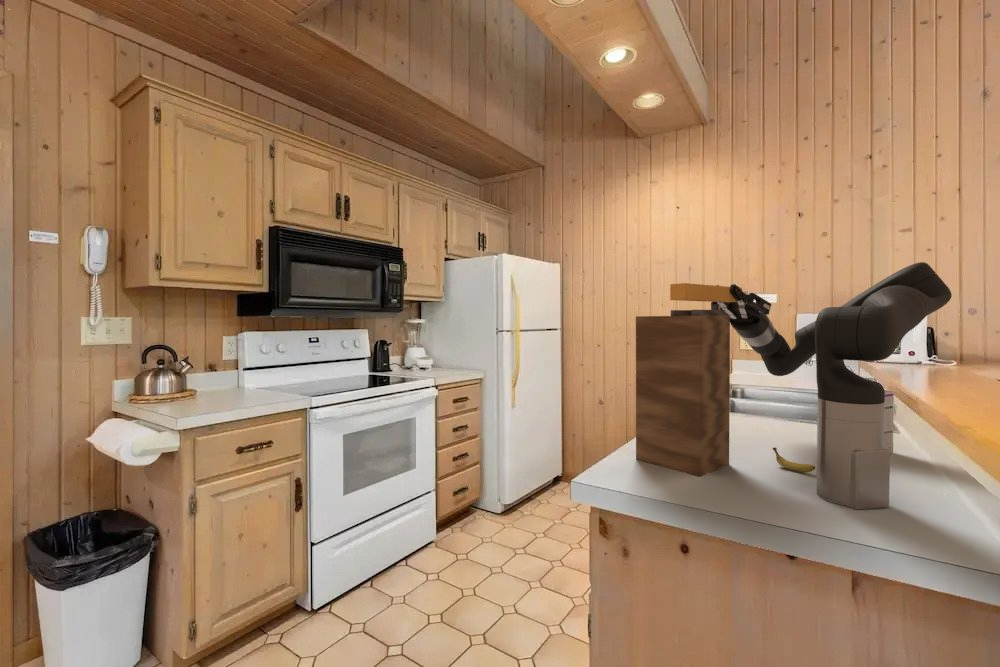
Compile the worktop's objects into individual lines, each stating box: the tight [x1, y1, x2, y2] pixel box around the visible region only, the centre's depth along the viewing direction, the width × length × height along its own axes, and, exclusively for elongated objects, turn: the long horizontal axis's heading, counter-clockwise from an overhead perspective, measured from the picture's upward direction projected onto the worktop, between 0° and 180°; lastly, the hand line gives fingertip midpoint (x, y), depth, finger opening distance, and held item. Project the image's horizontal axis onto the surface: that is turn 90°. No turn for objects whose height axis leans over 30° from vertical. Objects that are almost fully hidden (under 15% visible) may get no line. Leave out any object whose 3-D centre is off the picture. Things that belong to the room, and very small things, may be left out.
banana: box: [772, 447, 816, 473], centre depth 96 cm, size 8×2×4 cm, turn 32°
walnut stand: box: [635, 309, 731, 478], centre depth 101 cm, size 12×15×33 cm
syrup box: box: [884, 389, 895, 454], centre depth 108 cm, size 6×6×14 cm
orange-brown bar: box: [669, 282, 743, 303], centre depth 100 cm, size 24×3×3 cm, turn 128°
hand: (723, 288), depth 104 cm, fingers closed on orange-brown bar, 3 cm apart
